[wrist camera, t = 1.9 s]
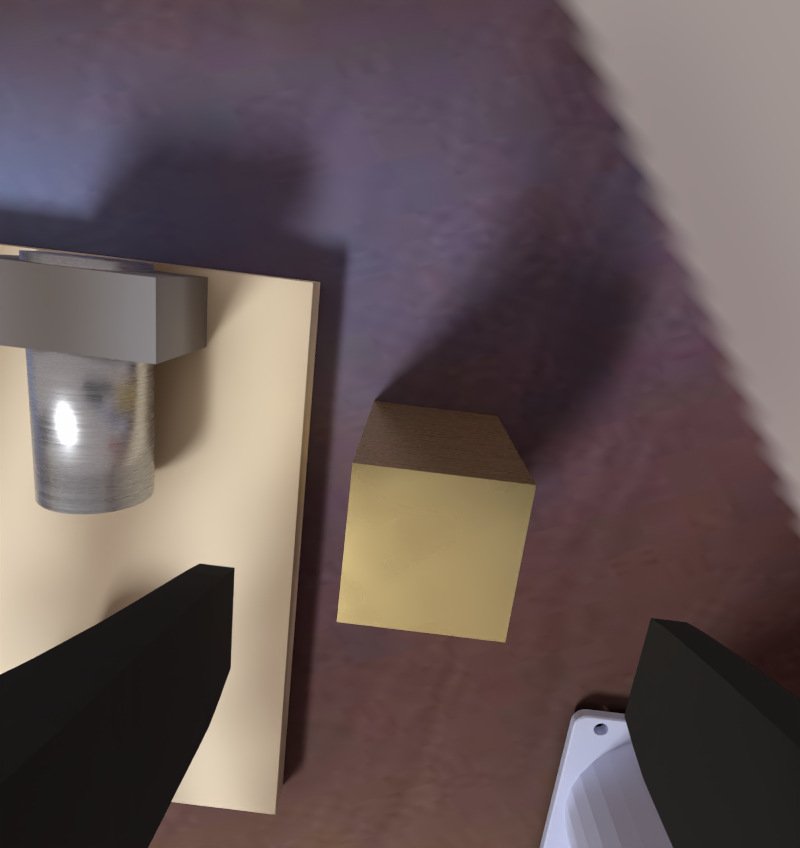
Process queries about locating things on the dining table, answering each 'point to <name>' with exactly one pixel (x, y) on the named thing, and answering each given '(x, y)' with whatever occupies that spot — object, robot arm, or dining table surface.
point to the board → (172, 482)
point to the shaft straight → (90, 418)
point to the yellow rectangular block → (434, 523)
